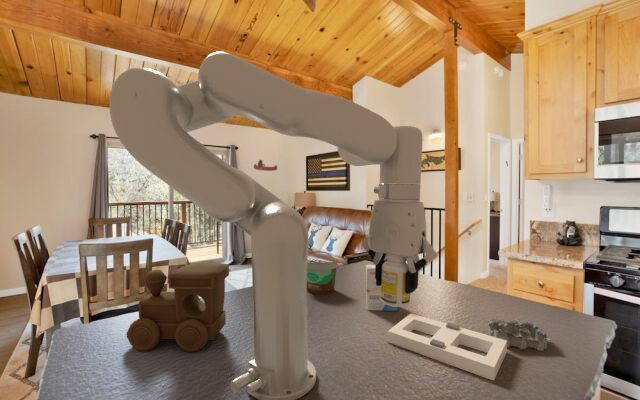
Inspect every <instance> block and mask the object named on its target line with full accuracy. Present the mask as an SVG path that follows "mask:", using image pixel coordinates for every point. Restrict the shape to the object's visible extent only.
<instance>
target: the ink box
mask: <svg viewBox="0 0 640 400" xmlns="http://www.w3.org/2000/svg"><path fill="white" fill-rule="evenodd" d="M375 266H376V265H374V264H365V301H366V302H365V304H366V305H365V306H366V310H367V311H382V312H385V311H387V312H388V311H389V312H398V310H399V307H392V306H388V305H386V304H384V303H383V302H382V301H381V285H380V286H377V285H376V279H375Z"/></svg>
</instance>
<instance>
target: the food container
mask: <svg viewBox="0 0 640 400" xmlns="http://www.w3.org/2000/svg"><path fill="white" fill-rule="evenodd" d="M338 267H339V262H338V260H337V259H336V260H335V261H331V262H330V261H325V260H307V293H308V292H309V293H310V294H311V293H312V294H316V295H319V294H320V295H323V294H324V295H325V294H328V293H332V292H333V291H335V284H336V275H337V268H338Z"/></svg>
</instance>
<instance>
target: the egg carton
mask: <svg viewBox="0 0 640 400" xmlns="http://www.w3.org/2000/svg"><path fill="white" fill-rule="evenodd" d="M486 323H487V325H488V335H489V336H493V337H496V338H500V339H503V340H507V349H508V348H509V347H511V346H512V347H517V348H519V349H521V350H526V349H527V348H533V349H536V350H537V351H539V352H541V351H544V350H545V349H548V341H551V338H549V337H548V334H547V333H546V332H544V330H543V329H542V328H541V326H539V325H538V323H537V322H536V321H531V322H522V321H520V322H518V321H517V320H514V321H508V320H504V321H503V320H500V319H498V318H493V319H491V320H489V321H487V322H486Z"/></svg>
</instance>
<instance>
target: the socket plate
mask: <svg viewBox="0 0 640 400" xmlns="http://www.w3.org/2000/svg"><path fill="white" fill-rule="evenodd" d="M412 331H417V332H421V333H424V334H427V335H431V338H429V337H427V336H423V335H421V334H417V333H414V332H412ZM387 343H389V344H392V345H395V346H398V347H400V348H403V349H406V350H408V351H412V352H415V353H416V354H419V355H422V356H425V357H428V358H430V359H433V360H435V361H439V362H441V363H443V364H447V365H449V366H452V367H455V368H458V369H461V370H462V371H466V372H468V373H471V374H475V375H477V376H479V377H482V378H484V379H488V380H491V381H493V382H494V381H495V379H496V378H497V375H498V372H499V370H500V368H501V366H502V363H503V362H504V359H505V357H506V354H507V352H508V348H507V340H503V339H500V338H496V337H493V336H489V334H485V333H481V332H479V331H474V330H471V329H467V328H464V327H460V325H459V324H455V323H452V322H447V323H446V322H443V321H439V320H436V319H432V318H430V317H427V316H422V315H418V314H415V313H409V314H408V315H407V316H405V317H404V318H403V319H401V320H400V321H399V322H398V323H396V324H395V325H394V326H392V327H391V328H389V330H387ZM459 345H461V346H465V347H468V348H471V349H473V350H474V349H475V350H477V351H480V352H483V353H486V355H482V354H479V353H475V352H473V351H469V350H466V349H464V348H461V347H459Z"/></svg>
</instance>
